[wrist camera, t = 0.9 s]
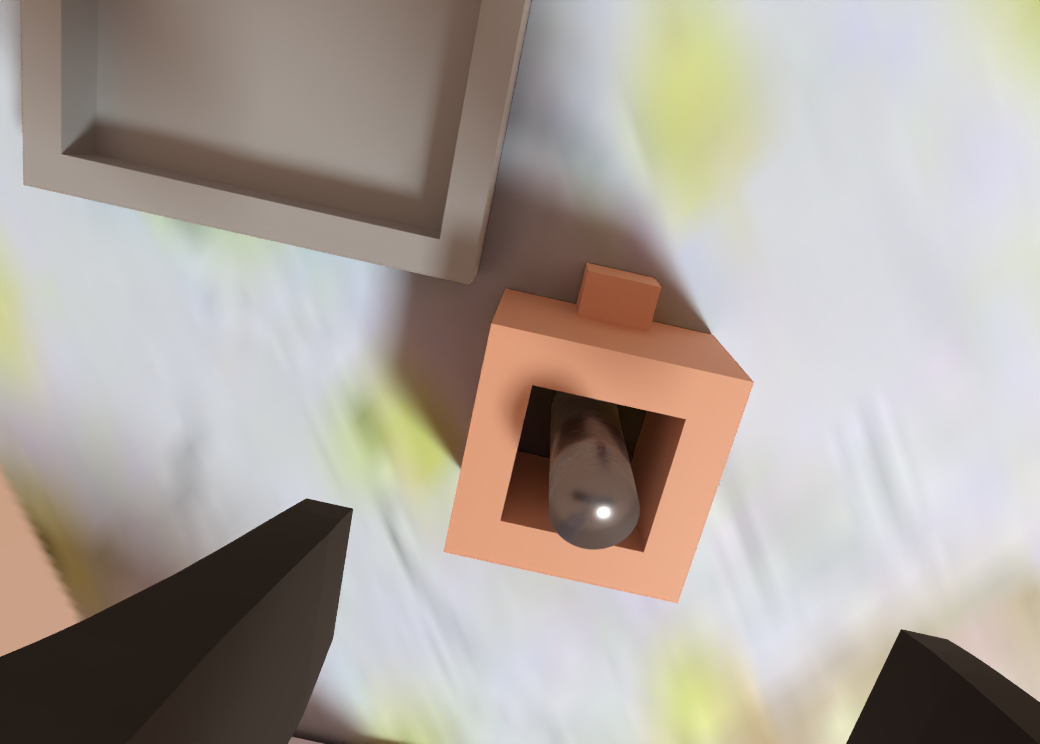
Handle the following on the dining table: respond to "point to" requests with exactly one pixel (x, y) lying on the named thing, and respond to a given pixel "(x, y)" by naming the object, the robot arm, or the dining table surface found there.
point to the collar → (612, 378)
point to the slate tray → (281, 117)
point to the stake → (590, 473)
